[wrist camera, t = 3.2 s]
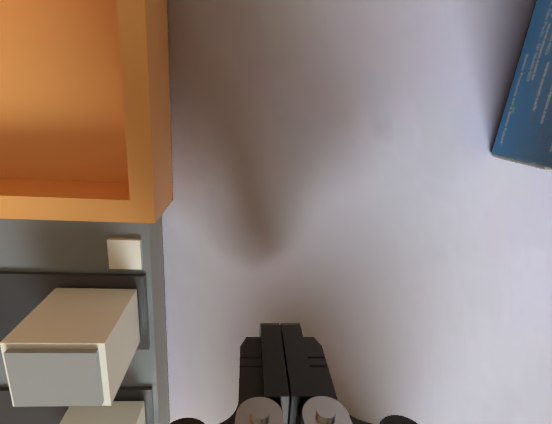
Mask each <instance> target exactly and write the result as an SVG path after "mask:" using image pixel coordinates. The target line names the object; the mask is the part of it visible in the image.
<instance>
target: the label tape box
mask: <svg viewBox="0 0 552 424" xmlns="http://www.w3.org/2000/svg"><path fill="white" fill-rule="evenodd" d="M492 156H494V157H497V158H500V159H504V160H508V161H512V162H516V163H520V164H524V165H528V166H532V167H536V168H540V169H544V170H548V171H552V0H537V1H536V5H535V8H534V11H533V15H532V18H531V22H530V25H529V28H528V32H527V35H526V38H525V42H524V45H523V48H522V52H521V55H520V59H519V62H518V66H517V69H516V72H515V76H514V79H513V83H512V86H511V89H510V93H509V96H508V99H507V103H506V106H505V110H504V113H503V116H502V120H501V123H500V126H499V130H498V133H497V137H496V140H495V143H494V146H493V150H492Z"/></svg>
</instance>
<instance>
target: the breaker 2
mask: <svg viewBox="0 0 552 424" xmlns="http://www.w3.org/2000/svg"><path fill="white" fill-rule="evenodd" d="M59 424H146V421H145V406H144V401H113V402H112V405H111V406H69V408H68V410H67V411H66V413H65V415H64V417H63V418H62V420H61V422H60V423H59Z"/></svg>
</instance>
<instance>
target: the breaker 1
mask: <svg viewBox="0 0 552 424" xmlns="http://www.w3.org/2000/svg"><path fill="white" fill-rule="evenodd" d="M139 343H140V331H139V316H138V301H137V289H96V288H55V289H54V290H53V291H52V292H51V293H50V294H49V295H48V296H47V297H46V298H45V299H44V300H43V301H42V302H41V303H40V304H39V305H38V306H37V307H36V308H35V309H34V310H33V311H32V312H31V313H30V314H29V315H28V316H27V317H26V318H24V319H23V320H22V321H21V322H20V323H19V324H18V325H17V326H16V327H15V328H14V329H13V330H12V331H11V332H10V333H9V334H8V335H7V336H6V337H5V338H4V339H3V340H2V341H1V342H0V347H1V352H2V357H3V361H4V366H5V371H6V376H7V380H8V385H9V390H10V395H11V399H12V404H13V407H14V406H15V407H36V406H111V405H112V402H113V400H114V398H115V396H116V393H117V391H118V389H119V387H120V385H121V382H122V380H123V378H124V376H125V374H126V371H127V369H128V367H129V365H130V362H131V360H132V358H133V356H134V354H135V351H136V349H137V347H138V345H139Z"/></svg>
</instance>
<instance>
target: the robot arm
mask: <svg viewBox="0 0 552 424" xmlns="http://www.w3.org/2000/svg"><path fill="white" fill-rule="evenodd" d="M170 424H204V423H203V422H202V421H200V420H198V419H194V418H182V419H178V420H176V421H173V422H172V423H170ZM220 424H371V423H367V422H364V421H361V420H358V419H356V418H354V417H352V416H350V415H349V414H348V412H347V410H346V408H345V407H344V406H343V405H342V404H341V403H340V402H339V401H338V399H337V396H336V393H335V389H334V386H333V383H332V379H331V376H330V373H329V369H328V367H327V363H326V359H325V356H324V352H323V349H322V346H321V345H320V344H319V343H318V342H317V341H316V339H315V338H314V337H303V335H302V331H301V327H300V324H299V323H281V324H279V323H260V337H246V339H245V340H244V342H243V343H242V345H241V347H240V376H239V402H238V406H237V409H236V411H235V412H234V414H233V415H232V416H231V417H230V418H228V419H227V420H226V421H224V422H222V423H220ZM380 424H417V423H416V422H414V421H413V420H411V419H409V418H406V417H404V416H399V415H391V416H387V417H385V418H383V419H382V420H381V422H380Z"/></svg>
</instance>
